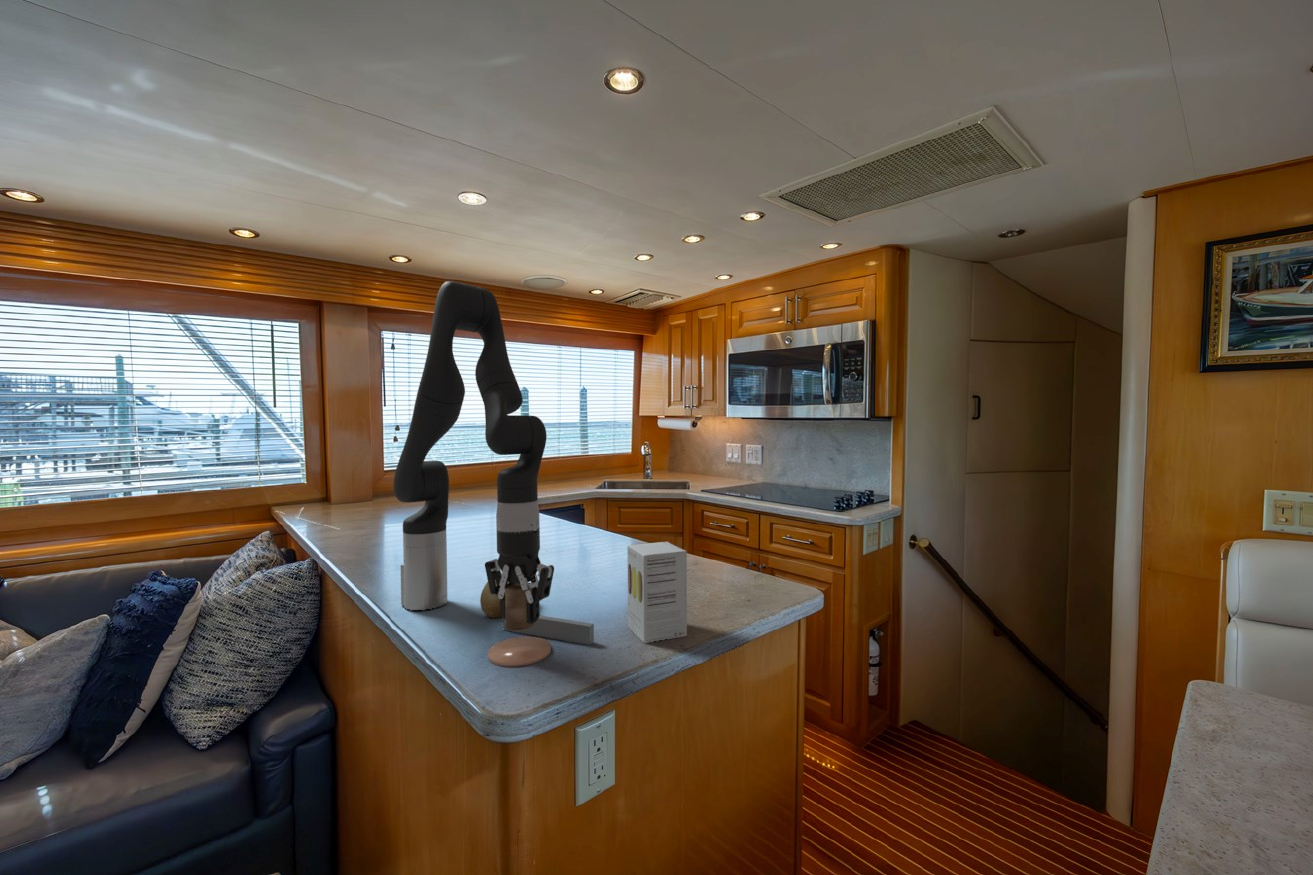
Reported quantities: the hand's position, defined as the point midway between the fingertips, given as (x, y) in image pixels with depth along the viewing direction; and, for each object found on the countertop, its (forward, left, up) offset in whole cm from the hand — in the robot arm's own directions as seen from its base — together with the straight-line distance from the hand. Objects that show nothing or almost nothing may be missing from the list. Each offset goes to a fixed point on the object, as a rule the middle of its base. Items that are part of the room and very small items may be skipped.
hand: (519, 619), depth 96 cm
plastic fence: (0, +9, -6) cm, 10 cm away
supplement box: (+19, +19, -6) cm, 27 cm away
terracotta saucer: (0, 0, -6) cm, 6 cm away
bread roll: (-18, +19, -6) cm, 27 cm away
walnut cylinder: (0, 0, -1) cm, 1 cm away
